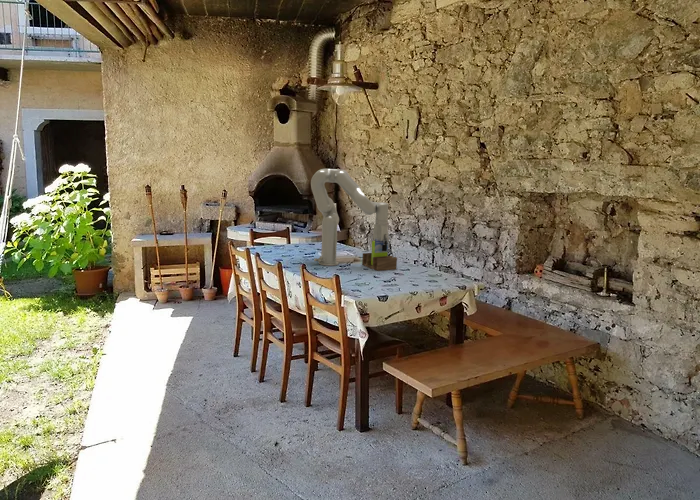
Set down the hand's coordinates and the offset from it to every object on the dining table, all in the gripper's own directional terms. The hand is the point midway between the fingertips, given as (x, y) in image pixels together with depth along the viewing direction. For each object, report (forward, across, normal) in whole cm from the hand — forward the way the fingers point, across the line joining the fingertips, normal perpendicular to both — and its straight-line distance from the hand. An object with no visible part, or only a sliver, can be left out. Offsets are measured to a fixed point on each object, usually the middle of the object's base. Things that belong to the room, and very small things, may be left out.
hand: (380, 249), depth 351 cm
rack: (+11, 0, 0) cm, 11 cm away
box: (+10, 0, 0) cm, 10 cm away
